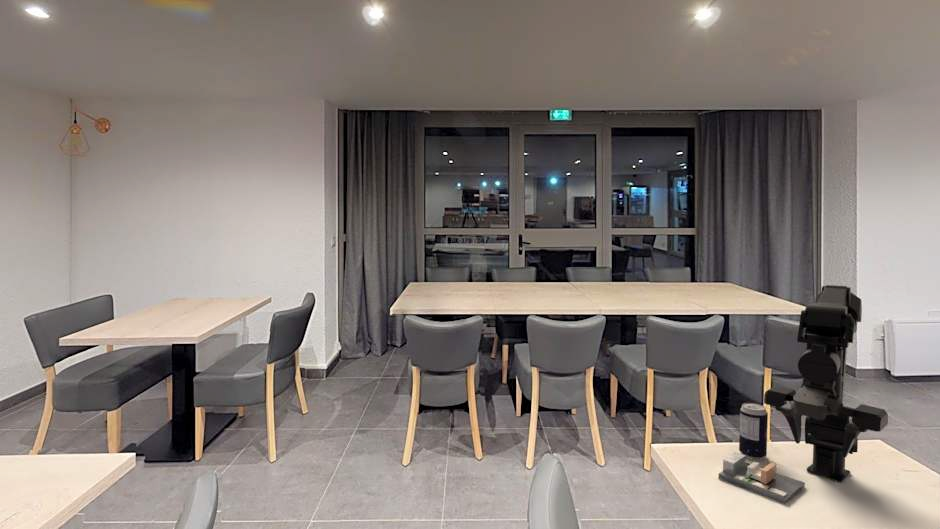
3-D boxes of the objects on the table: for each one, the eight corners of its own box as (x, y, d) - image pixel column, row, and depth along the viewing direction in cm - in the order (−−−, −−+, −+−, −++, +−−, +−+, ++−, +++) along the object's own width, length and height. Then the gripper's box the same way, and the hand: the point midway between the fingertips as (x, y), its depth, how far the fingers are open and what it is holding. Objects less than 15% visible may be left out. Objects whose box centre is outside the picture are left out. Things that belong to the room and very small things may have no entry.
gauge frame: (739, 464, 111) (739, 449, 111) (804, 487, 101) (805, 471, 101) (718, 478, 105) (718, 462, 105) (785, 504, 95) (786, 487, 95)
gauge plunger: (755, 469, 106) (755, 457, 106) (775, 476, 103) (776, 464, 103) (741, 479, 102) (741, 467, 102) (762, 487, 99) (762, 474, 99)
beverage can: (770, 462, 112) (771, 411, 112) (743, 460, 114) (745, 410, 113) (761, 451, 118) (762, 402, 117) (735, 449, 119) (736, 401, 118)
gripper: (753, 368, 96) (751, 444, 97) (873, 392, 81) (869, 482, 82) (776, 358, 102) (774, 430, 103) (890, 379, 88) (886, 462, 89)
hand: (820, 449), depth 94 cm, fingers open, 7 cm apart
